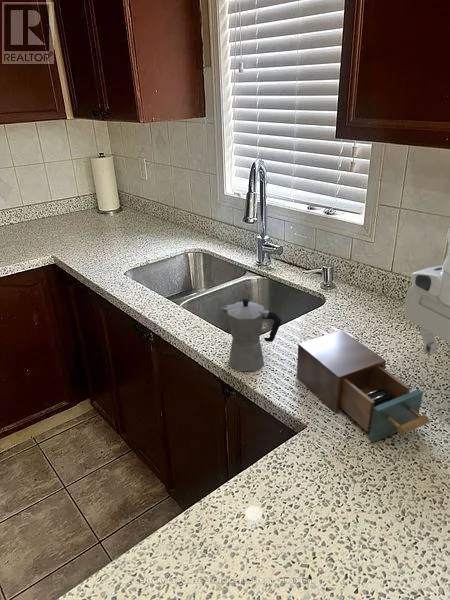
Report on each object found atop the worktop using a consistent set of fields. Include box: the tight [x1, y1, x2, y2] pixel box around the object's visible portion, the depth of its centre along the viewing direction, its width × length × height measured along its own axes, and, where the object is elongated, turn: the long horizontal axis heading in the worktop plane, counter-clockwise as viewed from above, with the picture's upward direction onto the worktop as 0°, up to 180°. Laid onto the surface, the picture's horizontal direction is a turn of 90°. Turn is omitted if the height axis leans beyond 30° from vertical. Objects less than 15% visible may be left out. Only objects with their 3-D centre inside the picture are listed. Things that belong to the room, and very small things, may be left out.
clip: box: [366, 388, 392, 407], centre depth 92 cm, size 5×3×4 cm, turn 116°
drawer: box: [339, 366, 430, 443], centre depth 90 cm, size 18×11×8 cm, turn 26°
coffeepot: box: [219, 297, 282, 373], centre depth 109 cm, size 15×9×18 cm, turn 67°
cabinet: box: [296, 330, 387, 415], centre depth 101 cm, size 15×13×10 cm
